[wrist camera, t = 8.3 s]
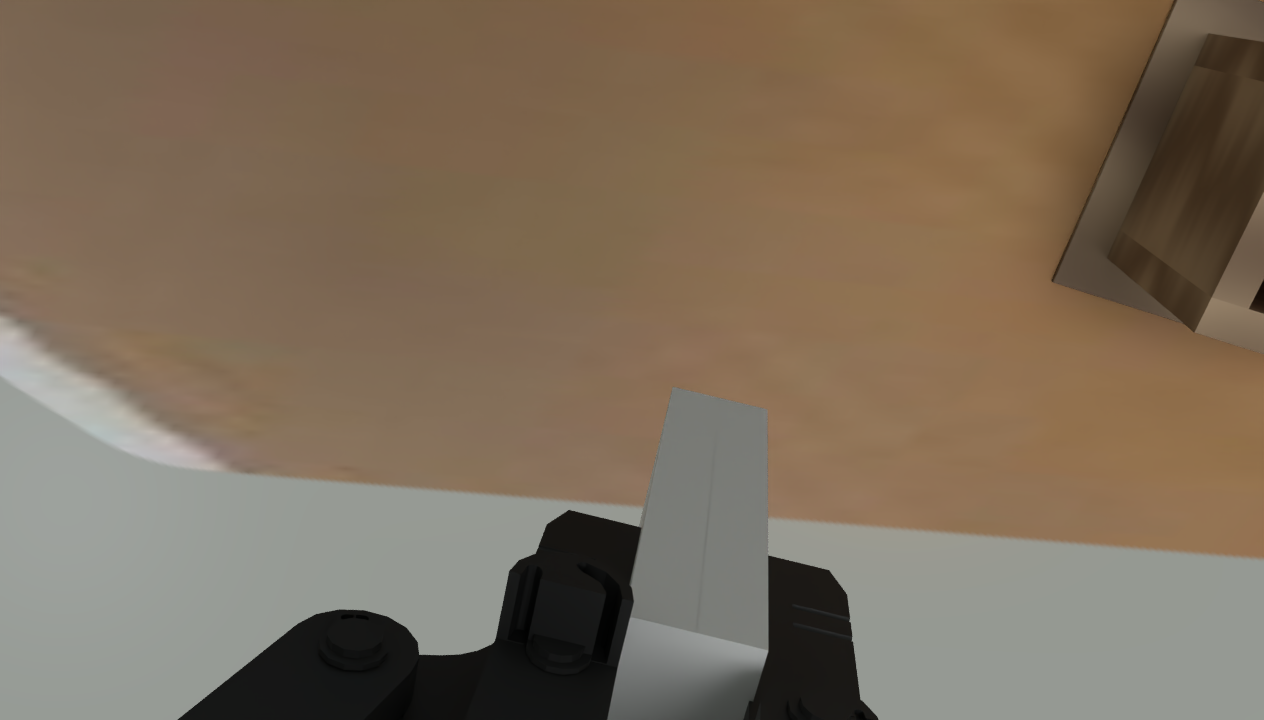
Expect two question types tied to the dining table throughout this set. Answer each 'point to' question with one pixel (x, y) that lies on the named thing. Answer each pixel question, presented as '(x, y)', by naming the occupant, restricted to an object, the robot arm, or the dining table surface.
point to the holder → (1185, 182)
